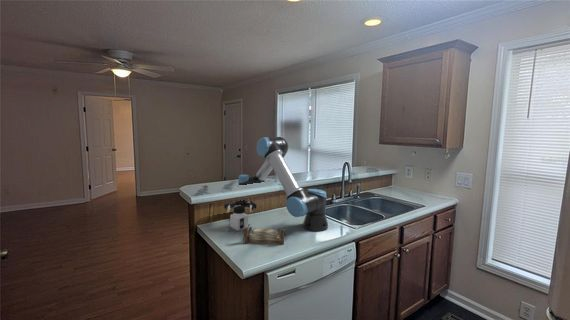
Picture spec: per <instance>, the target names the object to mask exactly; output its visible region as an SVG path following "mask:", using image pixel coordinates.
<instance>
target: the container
mask: <svg viewBox="0 0 570 320" xmlns="http://www.w3.org/2000/svg"><path fill="white" fill-rule="evenodd" d="M229 216H230V217H229V219H230V221H229V222H230V226H229V228H230V227H232V228H234V229H235V230H237V231H238V230H241V229H244V228H245V227H248V224H249V214H246V207H244V206H242V205H237V206H235V207H233V213H232V214H230V215H229Z"/></svg>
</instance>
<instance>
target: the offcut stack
mask: <svg viewBox="0 0 570 320" xmlns="http://www.w3.org/2000/svg"><path fill="white" fill-rule="evenodd" d="M278 232H279V231H278V229H273V228H272V229H270V228H253V230H252V231H251V232H250V237H249V240H271V241H279V237H280V234H278Z"/></svg>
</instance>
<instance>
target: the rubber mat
mask: <svg viewBox="0 0 570 320" xmlns="http://www.w3.org/2000/svg"><path fill="white" fill-rule="evenodd" d="M250 227H251V224H250V223H248V229H249V228H250ZM227 232H229V233H231V232H234V233H235V232H236V233H244V229H241V230H238V231H237V230H235V229H234V228H232V227H230V226H229V228H228V229H227Z"/></svg>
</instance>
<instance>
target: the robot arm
mask: <svg viewBox="0 0 570 320" xmlns="http://www.w3.org/2000/svg"><path fill="white" fill-rule="evenodd" d="M288 150H289V143H288V141H287V140H286V139H285V138H284V137H281V136H270V137H269V136H265V137H261V138H260V139H258V141H257V143H256V154H258V156H259V157H263V158H264V162H263V164H262V165H261V167H260V168H259V170H258V171H257V172H256V174H255V175H252V176H250V175H249V174H239V175H238V186H239V185H247V184H253V183H261V182H265V181H266V182H267V177H268V176H269V174H270V173H271V172H272V171H273V172H274V173H275V174H276V176H277V178H278V180H279V182H280V184H281V186H282V188H283V190H284V192H285V194H286V198H285V199H286V202H285V204H286V206H285V208H286V210H287V211H288V213H289V214H290V216H293V217H295V218H300V217H304V216H305V217H304V220H303V222H302V223H303V224H302V225H303V226H302V228H304V229H306V230H307V231H313V232H323V231H326V230H328V228H329V222H328V219H327V216H326V211H327V191H326V192H325V191H323V190H324V189H323V190H318V189H319V188H308V189H307V191H306V190H305V189H304V188H303V187H300V185H299V183H298V182H297V180H296V178H295V176H294V175H293V173H292V170H291V169H290V168H289V166H288V163H287V162H286V161H285V159H284V157H285V156H286V154H287V153H288ZM266 182H265V183H266ZM234 202H235V203H232V204H229V202H227V203H228V204H227V203H225V204H224V205H223V206H224V207H223V208H224V209H225V210H227V211H226V213H230V210H231V209H234V207H235V206H237V205H242V206H244V207H245V208H249V213H252V210H254V209H255V210H256V209H257V204H256V203H255V202H253V201H252V200H248V201H245V200H243V201H241V200H240V201H237V200H236V201H234Z"/></svg>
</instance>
